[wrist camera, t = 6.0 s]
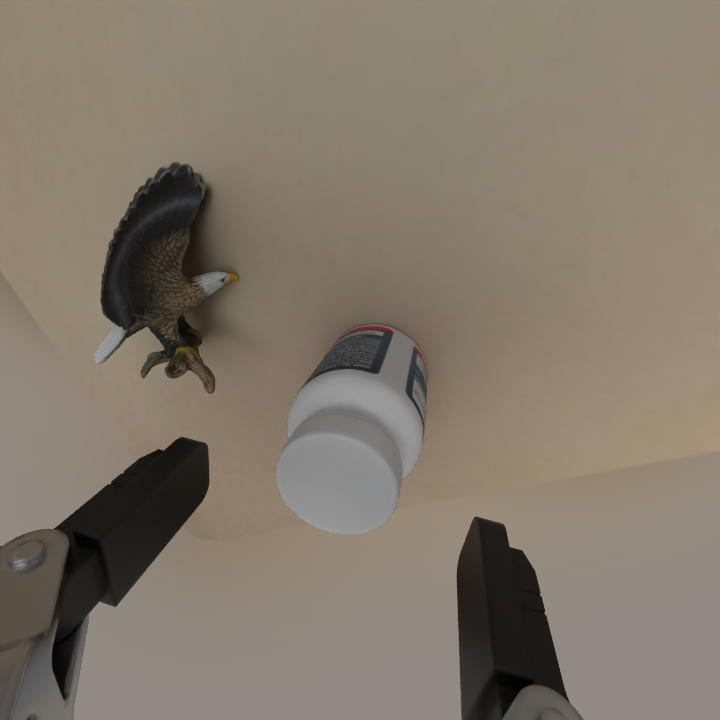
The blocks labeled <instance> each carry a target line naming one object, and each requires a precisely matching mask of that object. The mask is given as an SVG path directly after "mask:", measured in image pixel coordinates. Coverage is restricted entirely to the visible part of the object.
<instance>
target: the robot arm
mask: <svg viewBox="0 0 720 720" xmlns="http://www.w3.org/2000/svg"><path fill="white" fill-rule="evenodd" d="M208 487H209V457H208V446H207V444H206V443H203V442H199V441H195V440H192V439H188V438H184V437H181V438H178V439H177V440H175V441H174V442H173V443H172V444H171V445H170V446H169V447H167V448H166V449H165V450H164V451H163V450H159V449H158V450H156V451H154V452H152V453H150V454H148V455H146V456H144V457H141V458H139V459H138V460H137V461H136V462H135V463H133V464H132V465H131V466H130V467H128V468H127V469H126V470H125V471H124V473H123V474H120V475H119V476H118V477H116V478H115V479H114V480H113V481H112V482H111V484H110V485H109V484H108V485H107V486H105V487H104V488H103V489H102V490H101V491H99V492H98V493H97V494H96V495H95V496H93V497H92V498H91V499H90V500H89V501H87V502H86V503H85V504H84V505H83V506H81V507H80V508H79V509H78V510H76V511H75V512H74V513H73V514H72V515H70V516H69V517H68V518H67V519H66V520H64V521H63V522H62V523H61V524H59V525H58V526H57V527H56V528H54V529H42V530H36V531H32V532H29V533H26V534H23V535H21V536H19V537H16V538H15V539H13V540H11V541H9V542H8V543H6V544H5V545H3V546H0V720H73V714H74V703H75V697H76V691H77V686H78V680H79V674H80V669H81V663H82V657H83V651H84V645H85V639H86V634H87V628H88V622H89V615H88V614H89V613H90V611H91V610H92V609H93V608H94V607H95V606H96V605H97V603H98V602H99V601H100V602H103V603H106V604H108V605H111V606H114V607H116V606H117V605H118V604H119V602H120V601H121V600H122V599H123V597H124V596H125V595H126V594H127V593H128V591H129V590H130V589H131V588H132V586H133V585H134V584H135V583H136V582H137V580H138V579H139V578H140V577H141V575H142V574H143V573H144V572H145V571H146V569H147V568H148V567H149V566H150V565H151V563H152V562H153V561H154V560H155V558H156V557H157V556H158V555H159V553H160V552H161V551H162V550H163V549H164V547H165V546H166V545H167V544H168V543H169V541H170V540H171V539H172V538H173V536H174V535H175V534H176V533H177V532H178V530H179V529H180V528H181V527H182V525H183V524H184V523H185V522H186V521H187V519H188V518H189V517H190V516H191V514H192V513H193V512H194V511H195V510H196V508H197V507H198V506H199V505H200V503H201V502H202V501H203V499H204V497H205V495H206V493H207V490H208ZM457 599H458V627H459V656H460V685H461V710H462V711H461V713H462V720H583V718H582V717H581V715H580V714H579V713H578V712H577V710H576V709H575V708H574V707H573V706H572V705H571V704H570V702H569V699H568V697H567V695H566V692H565V688H564V684H563V680H562V676H561V673H560V668H559V664H558V661H557V656H556V652H555V648H554V644H553V641H552V637H551V633H550V628H549V624H548V621H547V617H546V615H545V614H544V613H545V609H544V605H543V601H542V597H541V596H540V589H539V585H538V581H537V577H536V573H535V570H534V569H533V567H532V565H531V564H530V562H529V561H528V559H527V557H526V556H525V554H524V553H523V551H522V550H518V549H515V548H511V547H509V543H508V537H507V532H506V528H505V526H504V524H501V523H498V522H494V521H490V520H487V519H483V518H479V517H474V519H473V521H472V523H471V526H470V529H469V532H468V534H467V537H466V539H465V542H464V545H463V548H462V550H461V553H460V556H459V561H458V568H457Z"/></svg>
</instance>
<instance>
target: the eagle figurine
mask: <svg viewBox="0 0 720 720" xmlns="http://www.w3.org/2000/svg"><path fill="white" fill-rule="evenodd" d="M206 189H207V187H206V185H204V184H203V183H201V182H200V176H199V175H198V174H197V173H192V172H191V169H190V167H189V166H188V165H187V164H183V165H181V166H180V165H179V164H178V163H177V162H175V163H172V164H171V165H170V167H169V168H168V169H165V168H164V167H161V168H160V169H159V170H158V171H157V173H156V175H155V179H154V180H153V179H152V178H149V179H147V181H146V184H145V186H141V187H140V188H139V190H138V192H137V193H135V195H134V199H133V201H132V202H130V205H129V207H128V209H127V212H126V213H125V216H124V217H123V218H122V219H121V220H120V222H119V226H118V228H117V229H115V230H114V238H113V239H112V240H111V241H110V243H109V250H108V252H107V257H106V263H105V267H104V273H103V274H102V282H101V284H102V288H101V305H102V311H103V314H104V315H105V316H106V317H107V318H108V319H110V321H112V322H113V323H115V326H114V327H113V328H112V329H111V330H110V332H109V333H108V335H107V336H106V338H105V340H104V341H103V342H102V343H101V344H100V346H99V348H98V349H97V350H96V352H95V353H94V362H95V363H97V364H102V363H104V362H105V361H106V360H107V359H108V358H109V357H110V356H111V355H112V354H113V353H114V352H115V351H116V350H117V349H118V348H119V347H120V345H121V344H122V343H123V342H124V340H125V339H126V338H128V337H130V336H131V335H133V334H135V333H136V332H137V331H139V330H141V329H143V328H145V327H148V328H149V329H150V330H151V332H152V333H154V335H155V336H156V337H157V338H158V339H159V341H160V342H161V343H162V345H163V346H164V348H165V350H163V351H160V352H153V353H150V354H149V355H148V358H147V361H146V362H145V364H144V365H143V367H142V370H141V377H142V378H144V377H145V376H146V375H147V374H148V372H149V371H150V369H151V368H152V367H154V366H155V365H157V364H160V363H164V362H168V361H169V363H168V365H167V366H166V368H165V373H166V375H167V377H169V378H178V377H180V376H182V375H183V374H184V373H185V372H186V371H187V370H191V371H193V372H194V373H195V374H196V375H197V376H198V377H199V378H200V379H201V380H202V382H203V385H204V388H205V390H206V391H207V392H208V393H210V394H211V393H213V392H214V391H215V377H214V375H213V373H212V372H211V370H210V369H209V368H208V367H207V366H206V365H204V363H203V360H202V359H201V357H200V355H199V350H198V347H199V345H201V344H202V335H201V334H200V333H199V332H198V331H197V330H195V329H193V328H191V326H190V325H189V324H188V323H187V322H186V320H185V317H184V316H183V314H182V313H184V312H186V311H189V310H191V309H193V308H194V307H196V306H197V305H199V304H200V303H202V302H203V301H204V300H205V299H206V298H207V297H209V296H210V295H211V294H212V293H214V292H215V291H216V290H218V289H219V288H221V287H223V286H224V285H226V284H227V283H229V282H232V281H238V276H237V275H235V274H232V273H225V272H219V271H214V272H209V273H206V274H203V275H200V276H196V277H191V278H187V277H185V276H184V274H183V272H182V261H183V257H184V254H185V252H186V250H187V248H188V245H189V242H190V226H191V223H192V221H193V220H194V219H195V217H196V214H197V212H198V209H199V206H200V202H201V201H202V199H203V197H204V194H205V192H206Z"/></svg>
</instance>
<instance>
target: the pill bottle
mask: <svg viewBox="0 0 720 720" xmlns="http://www.w3.org/2000/svg"><path fill="white" fill-rule="evenodd" d="M426 395H427V366H426V362H425V359H424V356H423V354H422V352H421V351H420V349H419V348H418V346H417V345H416V344H415V343H414V342H413V340H412V339H410V338H409V337H408V336H407V335H405V334H404V333H402V332H400V331H398V330H396V329H394V328H392V327H389V326H385V325H379V324H369V325H363V326H359V327H356V328H353V329H351V330H349V331H348V332H346V333H345V334H343V335H342V336H341V337H340V338H339V339H338V340H337V341H336V342H335V344H334V345H333V346H332V348H331V349H330V350H329V352H328V353H327V354H326V356H325V357H324V358H323V360H322V361H321V363H320V364H319V365H318V367H317V368H316V369H315V371H314V372H313V373H312V375H311V376H310V377H309V379H308V380H307V381H306V383H305V384H304V385H303V386H302V388H301V389H300V391H299V392H298V394H297V396H296V397H295V399H294V401H293V403H292V405H291V408H290V410H289V414H288V420H287V433H288V439H289V440H288V442H287V443H286V445H285V446H284V448H283V450H282V452H281V454H280V456H279V458H278V460H277V464H276V469H275V478H276V484H277V488H278V490H279V493H280V495H281V497H282V498H283V500H284V502H285V503H286V504H287V506H288V507H289V508H290V509H291V510H292V511H293V512H294V513H295V514H296V515H297V516H299V517H300V518H301V519H302V520H304V521H305V522H307V523H309V524H311V525H312V526H314V527H316V528H319V529H322V530H324V531H327V532H331V533H336V534H346V535H352V534H361V533H365V532H369V531H371V530H374V529H376V528H378V527H380V526H381V525H382V524H384V523H385V522H386V521H387V520H388V519H389V518H390V517H391V515H392V514H393V512H394V510H395V508H396V506H397V503H398V499H399V493H400V488H401V483H402V480H403V479H404V478H405V477H406V476H407V475H408V474H409V473H410V472H411V470H412V469H413V468H414V466H415V464H416V463H417V461H418V459H419V456H420V453H421V449H422V444H423V438H424V427H425V414H426Z"/></svg>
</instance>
